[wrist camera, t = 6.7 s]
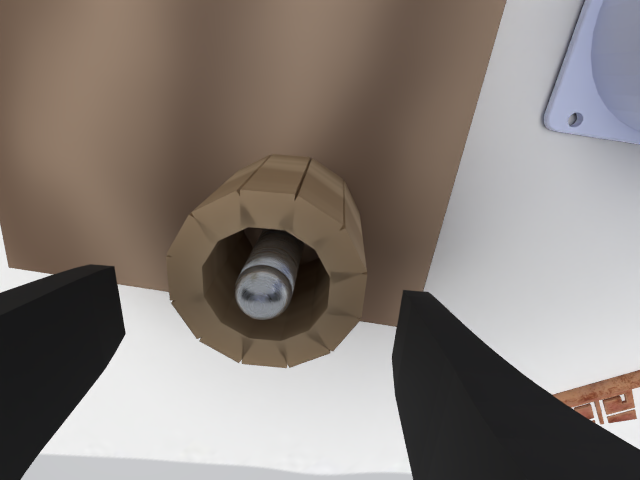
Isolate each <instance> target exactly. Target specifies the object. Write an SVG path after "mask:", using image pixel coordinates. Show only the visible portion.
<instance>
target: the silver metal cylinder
mask: <svg viewBox="0 0 640 480" xmlns="http://www.w3.org/2000/svg"><path fill="white" fill-rule="evenodd" d="M303 247H304V242H303V241H301V240H299V239H298V238H296V237H295V236H293V235H292V234H290V233H288V232H287V231H285V230H277V229H265V228H264V229H263V231H262V233H261V235H260V236H259V238H258V240H257V242H256V244H255V246H254V248H253V250H252V252H251V254H250V256H249V257H248V259H247V261H246V263H245V265H244V267H243V269H242V271H241V273H240V275H239V277H238V279H237V281H236V284H235V290H234V292H235V299H236V302H237V304H238V306H239V308H240V309H241V310H242V311H243V312H244V313H245V314H246V315H248V316H249V317H251V318H254V319H258V320H268V319H272V318H275V317H277V316H279V315H280V314H281V313H283V312H284V311H285V310H286V308H287V307H288V305H289V304H290V301H291V299H292V295H293V290H294V286H295V282H296V277H297V273H298V269H299V264H300V260H301V256H302V251H303Z"/></svg>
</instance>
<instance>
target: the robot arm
mask: <svg viewBox="0 0 640 480" xmlns="http://www.w3.org/2000/svg"><path fill="white" fill-rule="evenodd" d="M573 113H576V115H577V120H576V122H575V123H574V124H573V125H571V126H569V124H568V119H569V117H570V116H571V115H572V114H573ZM544 124H545V126H546V127H547V128H548V129H550V130H552V131H556V132H563V133H569V134H576V135H582V136H588V137H595V138H601V139H608V140H614V141H620V142H627V143H633V144H640V0H585V2H584V5H583V8H582V11H581V13H580V16H579V19H578V22H577V25H576V27H575V30H574V33H573V36H572V39H571V42H570V44H569V47H568V50H567V53H566V56H565V58H564V61H563V64H562V67H561V70H560V72H559V75H558V78H557V81H556V84H555V86H554V89H553V92H552V95H551V98H550V100H549V103H548V106H547V109H546V112H545V115H544ZM124 336H125V328H124V322H123V316H122V309H121V303H120V297H119V291H118V285H117V279H116V273H115V267H114V266H106V265H94V264H89V265H85V266H80V267H77V268H73V269H70V270H66V271H63V272H60V273H57V274H54V275H51V276H48V277H45V278H42V279H39V280H36V281H33V282H30V283H27V284H25V285H22V286H19V287H16V288H13V289H10V290H7V291H4V292H2V293H0V480H21V478H22V476H23V475H24V473H25V472H26V470H27V469H28V468H29V466H30V465H31V464H32V462H33V461H34V460H35V458H36V457H37V456H38V454H39V453H40V452H41V450H42V449H43V448H44V446H45V445H46V444H47V443H48V441H49V440H50V439H51V438H52V436H53V435H54V434H55V433H56V431H57V430H58V429H59V427H60V426H61V425H62V424H63V422H64V421H65V420H66V419H67V417H68V416H69V415H70V414H71V412H72V411H73V410H74V409H75V407H76V406H77V405H78V403H79V402H80V401H81V400H82V398H83V397H84V396H85V395H86V393H87V392H88V391H89V389H90V388H91V387H92V386H93V384H94V383H95V382H96V380H97V379H98V378H99V376H100V375H101V374H102V372H103V371H104V370H105V368H106V367H107V365H108V364H109V362H110V360H111V359H112V357H113V355H114V354H115V352H116V350H117V348H118V347H119V345H120V343H121V341H122V339H123V338H124ZM392 365H393V378H394V388H395V397H396V401H397V406H398V411H399V416H400V421H401V425H402V430H403V434H404V439H405V444H406V448H407V453H408V457H409V462H410V467H411V471H412V476H413V480H640V450H639V449H638V448H636V447H634V446H632V445H631V444H629V443H627V442H626V441H624V440H622V439H621V438H619V437H617V436H616V435H614V434H612V433H611V432H609V431H607V430H606V429H604V428H602V427H601V426H599V425H597V424H596V423H594V422H592V421H591V420H589V419H588V418H586V417H584V416H583V415H581V414H580V413H578V412H577V411H575V410H573V409H572V408H570V407H569V406H567V405H566V404H564V403H563V402H562V401H560V400H559V399H557V398H556V397H554V396H553V395H551V394H550V393H549V392H547V391H546V390H544V389H543V388H541V387H540V386H538V385H537V384H536V383H534V382H533V381H532V380H530V379H529V378H527V377H526V376H525V375H523V374H522V373H521V372H520V371H518V370H517V369H516V368H514V367H513V366H512V365H511V364H509V363H508V362H507V361H506V360H504V359H503V358H502V357H501V356H499V355H498V354H497V353H496V352H495V351H493V350H492V349H491V348H490V347H489V346H488V345H486V344H485V343H484V342H483V341H482V340H481V339H479V338H478V337H477V336H476V335H475V334H474V333H473V332H472V331H470V330H469V329H468V328H467V327H466V326H465V325H464V324H463V323H462V322H461V321H460V320H458V319H457V318H456V317H455V316H454V315H453V314H452V313H451V312H450V311H449V310H448V309H447V308H446V307H445V306H444V305H442V304H441V303H440V302H439V301H438V300H437V299H436V298H435V297H434V296H433V295H431V294H430V293H429V292H423V291H410V290H403V293H402V299H401V305H400V311H399V317H398V323H397V329H396V335H395V341H394V347H393V353H392Z"/></svg>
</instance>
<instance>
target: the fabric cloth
mask: <svg viewBox="0 0 640 480" xmlns="http://www.w3.org/2000/svg"><path fill="white" fill-rule="evenodd" d="M505 4H506V0H0V225H1V230H2V235H3V240H4V245H5V250H6V255H7V261H8V266H9V268H16V269H22V270H29V271H35V272H42V273H49V274H57V273H60V272H63V271H66V270H70V269H73V268H77V267H80V266H85V265H89V264H94V265H106V266H114V267H115V273H116V279H117V284H121V285H127V286H134V287H140V288H147V289H153V290H160V291H166V292H169V285H168V274H167V264H166V256H167V255H168V254H167V252H168V250H169V249H170V247H171V245H172V243H173V241H174V240H175V238H176V236H177V234H178V233H179V231H180V229H181V227H182V226H183V224H184V222H185V220H186V219H187V217H188V215H189V214H190V213H191V212H192V211H193V210H194V209H196V208H197V207H198V206H199V205H200V204H201V203H202V202H203V201H205V200H206V199H207V198H208V197H209V196H210V195H211V194H212V193H214V192H215V191H216V190H217V189H218V188H219V187H220V186H221V185H223V184H224V183H225V182H226V181H227V180H228V179H229V178H230V177H232V176H233V175H234V174H235V173H236V172H237V171H238V170H240V169H242V168H244V167H246V166H248V165H250V164H252V163H254V162H256V161H258V160H260V159H262V158H264V157H266V156H268V155H272V154H278V155H290V156H302V157H310V161H311V159H312V158H313V159H315V160H316V161H318V162H319V163H320V164H322V165H323V166H325V167H326V168H328V169H329V170H331V171H332V172H334V173H335V174H336V175H338V176H339V177H341V178H342V179H343V182H344V181H345V183H346V185H347V187H348V189H349V191H350V193H351V196H352V198H353V200H354V202H355V204H356V206H357V208H358V210H359V213H360V220H361V228H362V236H363V244H364V252H365V260H366V268H367V281H366V288H365V296H364V303H363V311H362V317H360V321H363V322H369V323H376V324H382V325H389V326H395V327H397V323H398V317H399V311H400V305H401V299H402V293H403V290H410V291H423V289H424V286H425V282H426V279H427V276H428V272H429V269H430V265H431V262H432V258H433V255H434V251H435V248H436V244H437V241H438V237H439V234H440V230H441V227H442V223H443V220H444V216H445V213H446V209H447V206H448V202H449V199H450V195H451V192H452V188H453V185H454V182H455V178H456V175H457V171H458V168H459V164H460V161H461V157H462V154H463V150H464V147H465V143H466V140H467V136H468V133H469V129H470V126H471V122H472V119H473V115H474V112H475V108H476V105H477V101H478V98H479V94H480V91H481V87H482V84H483V81H484V77H485V74H486V70H487V67H488V63H489V60H490V56H491V53H492V49H493V46H494V42H495V39H496V35H497V32H498V28H499V25H500V21H501V18H502V14H503V11H504V7H505ZM263 229H264V228H254V227H248V228H245V229H244V233H245V235H246V237H247V238H248V240H249V242H250V243H251V245H252V247H253V248H254V246H255V244H256V242H257V240H258V238H259V236H260V235H261V233H262V231H263ZM317 258H319V256H318V254H317V252H316V250H315V249H314V248H312V247H310V246H309V245H307V244H306V243H304V247H303V251H302V256H301V260H300V264H299V266H300V265H303V264H305V263H308V262H310V261H312V260H315V259H317Z"/></svg>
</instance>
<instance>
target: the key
mask: <svg viewBox="0 0 640 480" xmlns="http://www.w3.org/2000/svg"><path fill="white" fill-rule="evenodd" d="M638 387H640V370H638V371H635V372H631V373H628V374H624V375H621V376H617V377H614V378H610V379H607V380H603V381H600V382H596V383H593V384H589V385H586V386H582V387H579V388H575V389H572V390H568V391H565V392H561V393H557V394H554V395H553V396H554V397H556V398H557V399H559V400H560V401H562V402H563V403H564V404H566V405H567V406H569V407H570V408H571V407H575V406H578V407H575V408H574V410H575V411H577V412H578V413H580V414H581V415H583V416H584V417H586V418H588V419H592V418H594V415H593V411H592V407H591V405H590V402H594V403H595V407H596V410H597V414H598V417H599V421H600V424H604V421H603V417H602V413H601V408H600V404H599V400H602V399H604V400H603V404H604V407H605V411H606V414H607V415H608V414H612V413H615V412H619V411H623V410H627V409H631V408H635V406H634V400H633V394H632V389H634V388H638ZM622 394H624V396H625V401H622V400H621V397H620V396H619V395H622ZM614 396H615V397H614ZM610 397H611V398H610ZM606 398H607V399H606ZM586 403H589V404H586ZM583 404H586V405H583ZM579 405H582V406H579ZM607 418H608V422H609V423H613V422H619V421H626V420H632V419H637V418H636V412H635V409H634V410H631V411H627V412H623V413H619V414H616V415H612V416H608V417H607ZM592 422H594V423H595V420H593V421H592Z"/></svg>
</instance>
